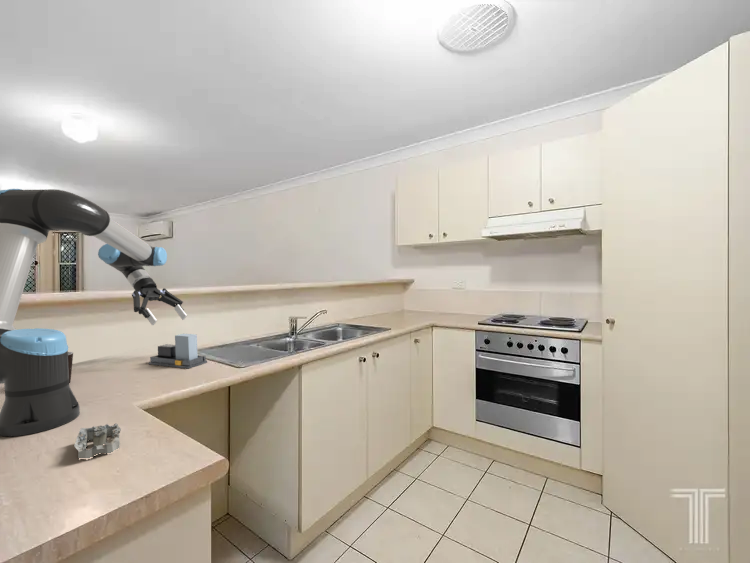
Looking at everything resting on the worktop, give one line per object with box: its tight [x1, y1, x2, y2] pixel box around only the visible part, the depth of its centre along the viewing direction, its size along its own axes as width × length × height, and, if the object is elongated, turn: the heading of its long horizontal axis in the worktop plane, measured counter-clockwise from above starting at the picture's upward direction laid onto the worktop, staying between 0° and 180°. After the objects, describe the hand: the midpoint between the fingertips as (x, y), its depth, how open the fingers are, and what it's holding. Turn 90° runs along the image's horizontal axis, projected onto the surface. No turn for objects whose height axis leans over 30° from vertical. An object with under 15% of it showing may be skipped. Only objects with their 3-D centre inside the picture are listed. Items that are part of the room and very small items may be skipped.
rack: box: [148, 343, 208, 370], centre depth 140 cm, size 9×21×7 cm, turn 70°
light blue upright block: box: [174, 333, 199, 360], centre depth 138 cm, size 4×7×11 cm, turn 70°
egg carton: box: [73, 423, 122, 458], centre depth 75 cm, size 11×8×4 cm
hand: (170, 320), depth 140 cm, fingers open, 13 cm apart
